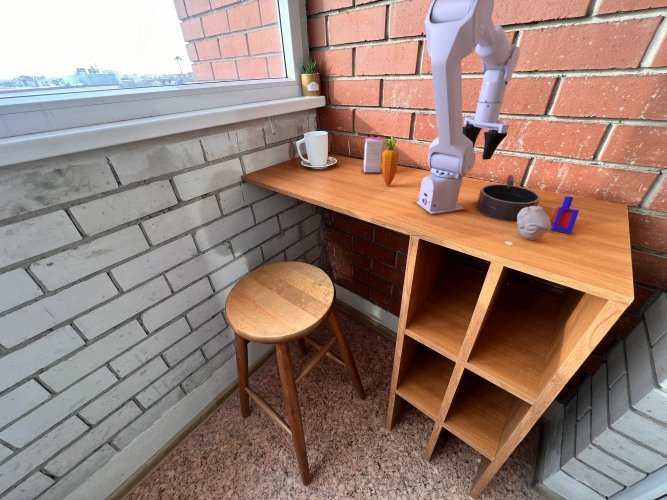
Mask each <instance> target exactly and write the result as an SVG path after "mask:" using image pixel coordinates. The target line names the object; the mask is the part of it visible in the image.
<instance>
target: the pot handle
mask: <svg viewBox="0 0 667 500" xmlns="http://www.w3.org/2000/svg"><path fill="white" fill-rule="evenodd" d="M514 180H515V177H514V175H513V174H510V175H508V176H507V179H506V185H510V186H508V187H507V190H511V189H512V187H511V186H512V185H513V186H514V182H515V181H514Z"/></svg>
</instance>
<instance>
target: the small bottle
mask: <svg viewBox="0 0 667 500" xmlns="http://www.w3.org/2000/svg"><path fill="white" fill-rule="evenodd" d="M573 201H574V197H573V196H568V195H566V196H564V199H563V201H562V204H561V206H559V207H556V208H555V210H554V212H553V216H552V219H551V220H550V222H551V228H550V230H551V231H554V232H560V233H566V234H572V232H573V229H574V226H575V224H576V221H577V218H578V215H579V213H580V209H573V208H571V205H572V204H573Z"/></svg>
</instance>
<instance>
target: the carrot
mask: <svg viewBox="0 0 667 500" xmlns="http://www.w3.org/2000/svg"><path fill="white" fill-rule="evenodd" d="M396 143H397V139H396V138H395V136H394V135H391V136H390V139H389V140H388V141H387V140H384V139H383V144H385V145H386V147H387V148H386V149H384V150H382V158H381V172H382V177H383V181H384V183H385V185H386V187H390V185H391V184H392V182H393V180H394V179H395V176H396V173H397V169H398V164H399V157H400V152H399V151H398V150H397V149H395V148H394V147H395V145H396Z"/></svg>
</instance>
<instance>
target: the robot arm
mask: <svg viewBox="0 0 667 500" xmlns="http://www.w3.org/2000/svg"><path fill="white" fill-rule="evenodd" d="M494 7H495V0H432V1H431V3H430V5H429V8H428V10H427V13H426V18H425V20H424V28H425V38H426V49H427V55H428V56H429V57H430V63H431V64H430V67H431V75H432V76H431V77H432V86H433V87H432V88H433V97H434V109H435V118H436V128H437V137H436V138H434V139H433V141H432V142H431V143H430V145H429V147H428V156H427V166H428V168H429V169H430V173H431V174H430V175H426V176H424V177H423V178H422V180H421V181H420V182H421V183H420V189H419V195H418V200H417V201H416V204H417V205H418V206H420V207H421V208H423V209H424V210H425V211H427V212H428V213H429V214H431V215H438V214H444V213H450V212H451V213H452V212H458V211H463V210H464V207H463V206H461V205H460V204H458V201H459V200H458V199H459V195H460V192H461V187H462V183H463V178H464V177H465V176H467V175H468V174H470V173H471V172H472V170H473V168H474V165H475V162H476V156H477V155H476V151H475V145H476V142H477V139H478V137H479V134H480V133H481V131H482V130H483V129H485V130H488V131H484V132H483V139H484V145H483V152H482V160H483V161H488V160H491V159H492V157H493V155H494V153H495V152H496V150H497V148H498V147H499V146H500V145H501V143H502V142H503V140H504V139H506V137H507V136H508V131H509V127H510V124H509V123H505V122H502V121H501V120H500V119H499V117H500V113H501V111H502V105H503V102H504V99H505V95H506V92H507V88H508V84H509V82H510V81H511V80H512V77H513V74H514V71H515V69H516V67H517V65H518V63H519V58H520V52H521V51H520V47H519V46H517V44H516V43H513V44H511V41H510V40H509V38H508V37H507V35H506V33H505V30H504V29H503V27H502V26H501V25H495V23H494V21H493V18H492V16H493V13H494ZM474 52H476V54H477V55H478V57H479V58H480V60H481V71H482V73H483V74H484V75H483V78H482V82H481V87H480V92H479V96H478V101H477V104H476V105H477V106H476V109H475V114H474V117H473V116H465V117H464V120H463V85H462V84H463V83H462V82H463V81H462V80H463V79H462V78H463V77H462V76H463V75H462V62H463V59H465V58H467V57H468V56H470V55H471V54H473V53H474Z"/></svg>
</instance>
